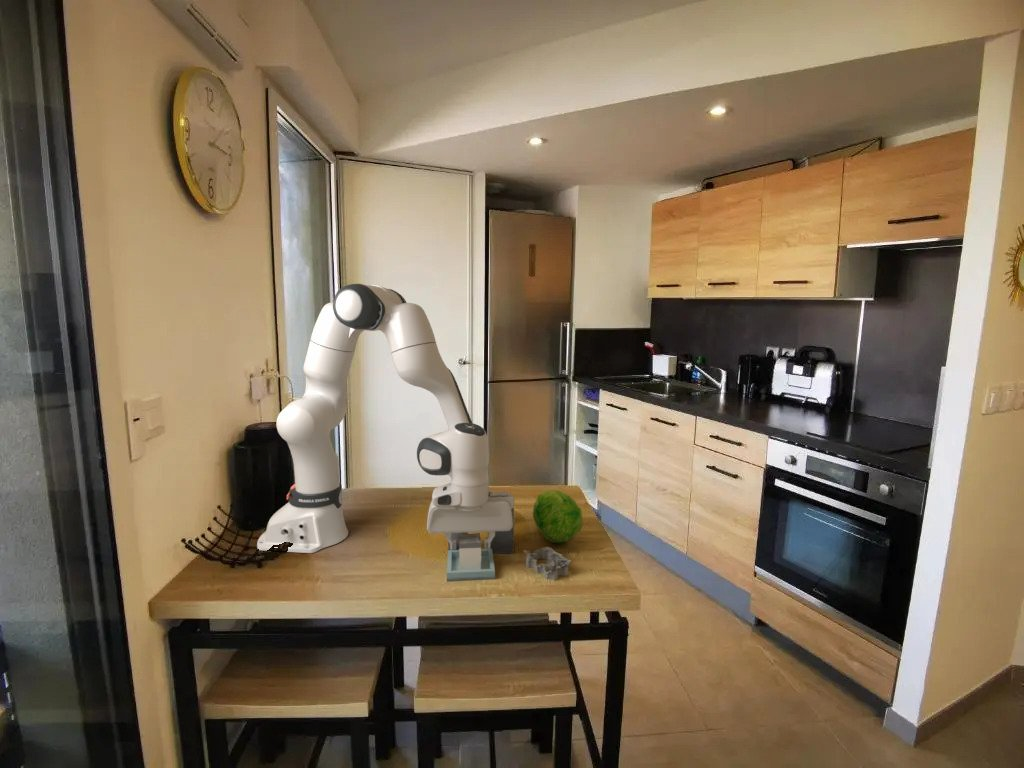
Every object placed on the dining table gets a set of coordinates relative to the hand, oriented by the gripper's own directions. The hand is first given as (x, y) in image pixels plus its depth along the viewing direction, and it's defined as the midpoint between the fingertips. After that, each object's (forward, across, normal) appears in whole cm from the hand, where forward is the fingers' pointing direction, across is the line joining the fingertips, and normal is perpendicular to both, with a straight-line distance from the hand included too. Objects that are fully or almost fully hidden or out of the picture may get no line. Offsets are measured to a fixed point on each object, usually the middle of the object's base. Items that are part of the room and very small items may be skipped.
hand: (470, 548), depth 124 cm
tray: (+5, 0, 0) cm, 5 cm away
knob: (+5, +3, -10) cm, 12 cm away
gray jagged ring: (+6, -18, +2) cm, 19 cm away
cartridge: (+4, 0, 0) cm, 5 cm away
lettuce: (+5, -24, -16) cm, 29 cm away
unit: (+5, -8, -10) cm, 14 cm away
